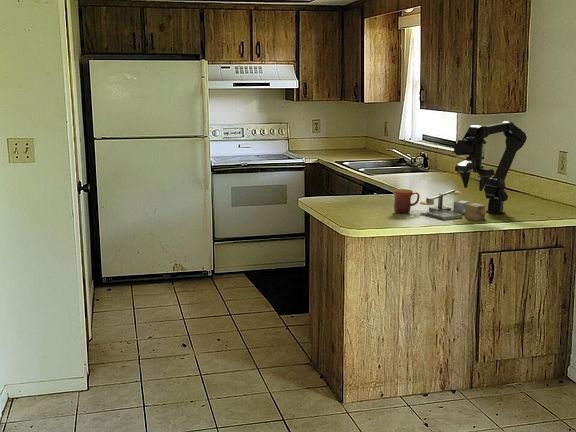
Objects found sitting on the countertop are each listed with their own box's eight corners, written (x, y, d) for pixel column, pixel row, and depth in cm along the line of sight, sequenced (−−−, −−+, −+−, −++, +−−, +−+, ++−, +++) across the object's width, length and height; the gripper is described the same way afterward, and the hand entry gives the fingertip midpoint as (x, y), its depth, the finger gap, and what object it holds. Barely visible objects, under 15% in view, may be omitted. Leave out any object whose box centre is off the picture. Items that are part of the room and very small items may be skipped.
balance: (453, 207, 332) (454, 188, 330) (462, 209, 327) (464, 190, 325) (416, 211, 321) (417, 191, 319) (425, 214, 316) (426, 194, 314)
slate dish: (444, 213, 319) (445, 210, 319) (462, 217, 310) (462, 214, 309) (426, 215, 314) (426, 212, 313) (443, 220, 304) (443, 217, 304)
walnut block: (474, 216, 313) (475, 203, 312) (484, 218, 308) (485, 205, 307) (464, 217, 310) (465, 204, 309) (474, 220, 305) (475, 206, 304)
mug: (394, 214, 314) (394, 192, 312) (390, 210, 323) (391, 188, 321) (420, 214, 315) (421, 192, 313) (416, 211, 323) (417, 189, 321)
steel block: (459, 210, 325) (459, 200, 324) (468, 212, 322) (469, 201, 321) (453, 212, 322) (454, 201, 321) (463, 213, 318) (463, 203, 317)
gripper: (446, 153, 312) (444, 187, 315) (477, 157, 296) (475, 194, 299) (465, 151, 317) (463, 185, 321) (496, 156, 302) (493, 192, 305)
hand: (473, 189), depth 311 cm, fingers open, 9 cm apart
